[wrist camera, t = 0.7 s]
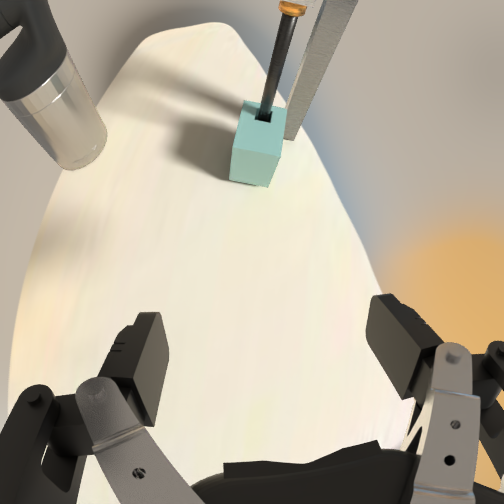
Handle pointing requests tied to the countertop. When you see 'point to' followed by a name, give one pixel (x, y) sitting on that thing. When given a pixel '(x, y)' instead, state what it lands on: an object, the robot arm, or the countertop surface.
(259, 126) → the sleeve
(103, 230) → the countertop surface
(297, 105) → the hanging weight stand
